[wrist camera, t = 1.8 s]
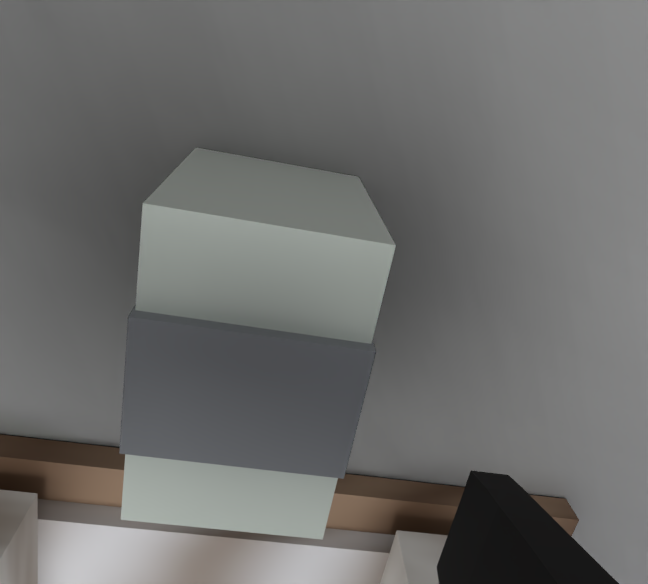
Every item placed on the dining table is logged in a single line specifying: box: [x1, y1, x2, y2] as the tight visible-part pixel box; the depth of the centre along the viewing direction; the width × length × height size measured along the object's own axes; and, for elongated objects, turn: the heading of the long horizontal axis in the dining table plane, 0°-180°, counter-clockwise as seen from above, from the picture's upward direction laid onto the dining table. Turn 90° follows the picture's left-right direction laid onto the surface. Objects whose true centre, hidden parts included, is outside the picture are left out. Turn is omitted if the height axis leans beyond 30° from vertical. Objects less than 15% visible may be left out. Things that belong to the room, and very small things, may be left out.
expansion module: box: [119, 148, 396, 540], centre depth 14 cm, size 4×7×6 cm, turn 169°
